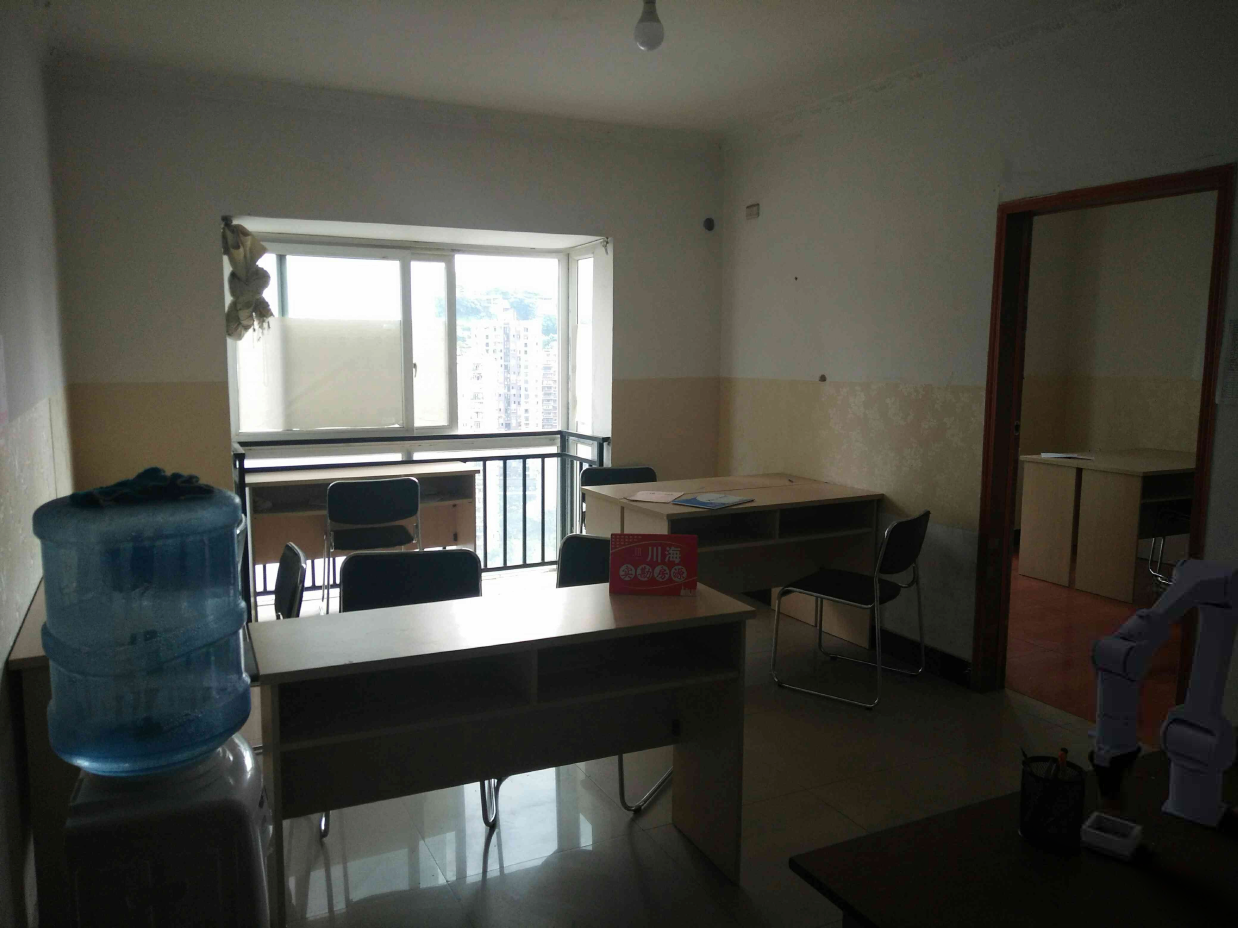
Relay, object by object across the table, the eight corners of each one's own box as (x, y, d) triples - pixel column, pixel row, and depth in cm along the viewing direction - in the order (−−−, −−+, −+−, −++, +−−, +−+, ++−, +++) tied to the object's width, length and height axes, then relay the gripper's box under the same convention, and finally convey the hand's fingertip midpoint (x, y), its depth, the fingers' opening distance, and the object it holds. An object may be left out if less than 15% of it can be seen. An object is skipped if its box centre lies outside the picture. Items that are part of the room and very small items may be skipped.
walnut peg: (1129, 803, 139) (1132, 762, 138) (1122, 813, 136) (1124, 771, 136) (1102, 795, 142) (1104, 754, 141) (1094, 804, 139) (1096, 763, 138)
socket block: (1094, 827, 145) (1094, 811, 145) (1141, 843, 140) (1142, 826, 140) (1080, 844, 140) (1080, 827, 140) (1128, 861, 135) (1129, 843, 135)
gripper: (1103, 692, 145) (1100, 769, 147) (1074, 718, 135) (1070, 800, 137) (1151, 703, 140) (1147, 782, 142) (1124, 731, 130) (1120, 816, 132)
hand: (1113, 792), depth 139 cm, fingers closed on walnut peg, 4 cm apart
